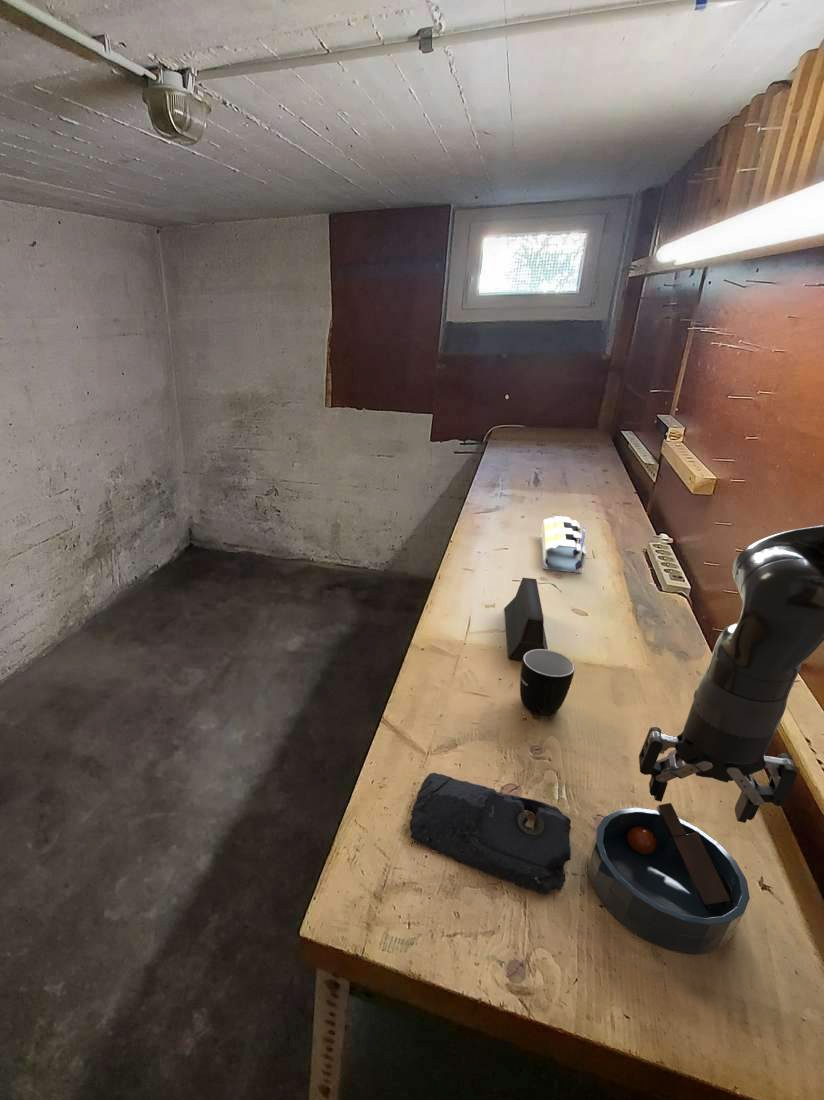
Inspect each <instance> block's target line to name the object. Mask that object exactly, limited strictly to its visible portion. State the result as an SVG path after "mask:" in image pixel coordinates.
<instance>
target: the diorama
mask: <svg viewBox="0 0 824 1100" xmlns="http://www.w3.org/2000/svg"><path fill="white" fill-rule="evenodd" d="M542 522H543V523H542V529H541V537H540V541H541V542H540V543H541V555H542V556H541V557H542V569H543V570H551V571H558V572H559V571H561V572H566V573H567V572H568V573H576V574H582V569H583V568H584V566H585V562H586V557H587V551H586V548H585V545H584V542H585V538H586V528H587V527H586V525H583V529H582V531H581V526H580V523H579V522H578V521H577V520H575V519H572V518H571V517H570V516H559V515H555V516H553V517H547V518H545V519H543V521H542ZM581 532H582V533H581ZM579 555H580V558H579Z"/></svg>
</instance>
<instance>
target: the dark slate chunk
mask: <svg viewBox="0 0 824 1100" xmlns="http://www.w3.org/2000/svg"><path fill="white" fill-rule="evenodd" d="M526 811H527V812H529V813H532V814H533V815H534V822H533V828H532V827H530V826H528V825H526V824H527V822H529V814H528V813H527V812H526ZM571 829H572V827H571V818H570V817H568V816H567V815H565V814H563V812H562V811H561V810H560V809H559V808H558V807H557V806H553V805H550V804H548V803H547V802H543V801H540V800H539V801H538V800H536V799H531V798H526V797H523V796H519V795H514V794H507V793H501V792H499V791H496V789H494V788H490V787H487V786H484V785H481V784H476V783H473V782H470V781H467V780H459V779H456V778H453V776H452V777H451V776H448V775H445V774H442V773H437V772H431V773H429V774H428V775H427V776H426V777H425V778H424V780H423V782H422V783H421V785H420V788H419V790H418V791H417V795H416V799H415V802H414V804H413V807H412V812H411V818H410V821H409V830H410V838H411V839H412V840H414V841H415V842H418V843H419V844H421V845H422V846H425V847H427V848H429V849H430V850H431V851H436V852H437V853H438V854H442V855H444V856H446V857H447V858H450V859H453V860H454V861H455V862H458V863H461V864H464V865H465V866H468V867H471V868H472V869H475V870H479V871H482V872H484V873H486V874H489V875H491V876H494V877H497V878H499V879H501V880H504V881H507V882H509V883H513V884H515V885H517V886H518V887H521V888H525V889H527V890H532V891H534V892H537V893H539V894H549V893H550V892H551V891H552V890H551V889H557V890H561V889H562V888H563V887H564V884H565V882H566V874H565V873H564V872H565V869H564V864H565V863H566V862H568V861H570V860H571V857H572V853H571V850H572V849H571V838H570V834H571V833H570V832H571Z"/></svg>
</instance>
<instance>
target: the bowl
mask: <svg viewBox="0 0 824 1100" xmlns="http://www.w3.org/2000/svg"><path fill="white" fill-rule="evenodd" d="M678 818H679V817H678ZM679 820H680V822H681V825H682V827H683V829H684V831H685V833H686V834H691V833H698V835H699V837H700V839H701V841H702V843H703V845H704V847H705V849H706V851H707V853H708V855H709V857H710V859H711V861H712V863H713V865H714V867H715V869H716V871H717V873H718V875H719V877H720V879H721V881H722V883H723V885H724V887H725V889H726V891H727V893H728V895H729V897H730V899H731V901H728V902H722V903H715V904H708V905H703V904H702V902H701V900H700V898H699V896H698V894H697V892H696V890H695V888H694V886H693V883H692V881H691V879H690V877H689V875H688V873H687V871H686V869H685V866H684V864H683V862H682V860H681V858H680V856H679V854H678V852H677V850H676V847H675V845H674V843H673V841H672V839H671V838H670V836H669V834H668V832H667V830H666V827H665V825H664V823H663V821H662V819H661V817H660V815H659V813H658V811H657V809H650V808H641V807H628V808H619V809H616V810H614V811H612V812H610V813H609V814H607V815H605V816H603V818H602V820H601V821H600V823H599V824H598V826H597V827H596V829H595V830H596V831H595V834H594V836H593V841H592V843H591V846H590V850H589V854H588V859H587V873H588V878H589V881H590V884H591V887H592V888H593V891H594V893H595V895H596V896H597V898H598V899H599V901H600V902H601V903H602V905H603V906H604V907H605V908H606V910H607V911H608V912H609V913H610V914H611V915H612V916H613V917H614V918H615V919H616V920H617V921H618V922H619V923H620V924H622V926H623V927H625V928H627V929H628V930H629V931H631V932H632V933H633V934H635V935H637V936H639V937H640V938H642V939H643V940H645V941H647V942H649V943H651V944H653V945H655V946H657V947H659V948H662V949H666V950H669V951H671V952H676V953H680V954H687V955H705V954H711V953H713V952H716V951H718V950H720V949H721V948H723V947H725V945H726V944H727V943H728V942H729V941H730V940H731V939H732V937H733V935H734V933H735V931H736V929H737V928H738V926H739V924H740V922H741V920H742V919H743V916H744V914H745V912H746V909H747V906H748V904H749V901H750V899H751V897H750V892H749V886H748V880H747V878H746V876H745V874H744V873H743V871H742V869H741V868H740V866H739V864H738V863H737V861H736V860H735V859H734V857H733V856H732V855H730V853H729V852H728V851H727V850H726V849H725V847H723V846H722V845H721V844H720V843H719V842H718V841H717V840H715V839H714V838H712V837H711V836H710V835H708V833H706V832H705V831H703V830H702V829H700V828H699V827H697V826H695V825H693V824H691V823H690V822H688V821H685V820H684V819H682V818H679ZM636 826H641V827H645V828H647V829H649V830H650V831H651V832H652V833H653V834H654V835H655V837H656V840H657V847H656V849H655V851H654V852H652V853H650V854H640V853H638V852H636V851H634V850H633V849H632V848H631V847H630V845H629V844H628V841H627V833H628V831H629V830H630V829H631V828H633V827H636ZM686 834H685V835H686Z"/></svg>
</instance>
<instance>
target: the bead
mask: <svg viewBox="0 0 824 1100" xmlns="http://www.w3.org/2000/svg"><path fill="white" fill-rule="evenodd" d="M627 841H628V844H629V845H630V847H631V848H632V849H633V850H634V851H636V852H638V853H640V854H650V853H652V852H654V851H655V849H656V847H657V840H656V837H655V835H654V834H653V833H652V832H651V831H650V830H649V829H647V828H645V827H641V826H636V827H633V828H631V829H630V830H629V831H628V833H627Z"/></svg>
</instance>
